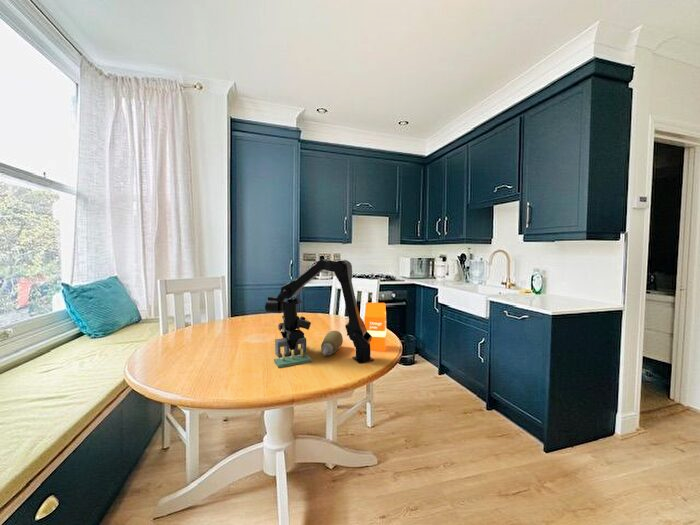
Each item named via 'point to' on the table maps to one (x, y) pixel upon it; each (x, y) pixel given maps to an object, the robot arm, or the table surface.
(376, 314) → the orange juice
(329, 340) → the squeeze bottle
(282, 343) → the block
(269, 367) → the table surface
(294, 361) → the strip
